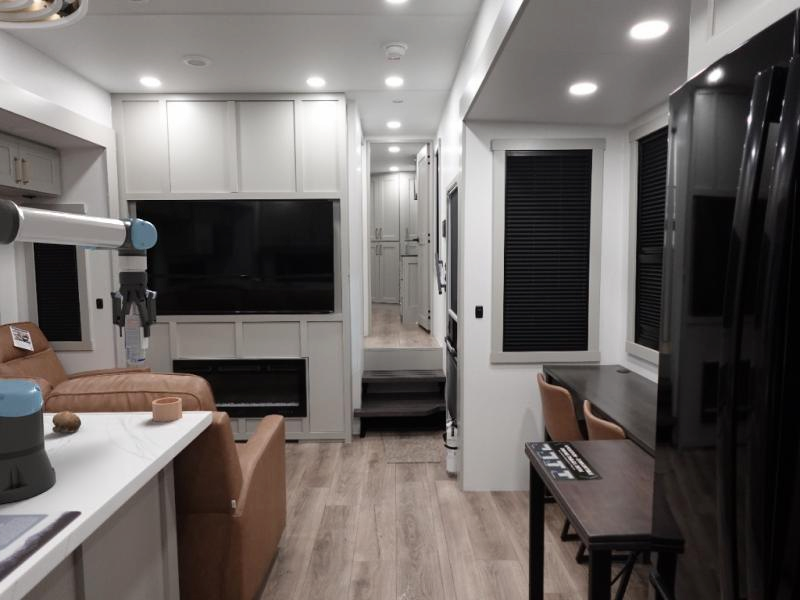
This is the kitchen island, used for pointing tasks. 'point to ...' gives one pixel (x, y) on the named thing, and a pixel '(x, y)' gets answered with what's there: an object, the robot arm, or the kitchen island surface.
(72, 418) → the mushroom
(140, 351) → the beverage can
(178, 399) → the light orange hollow cylinder
